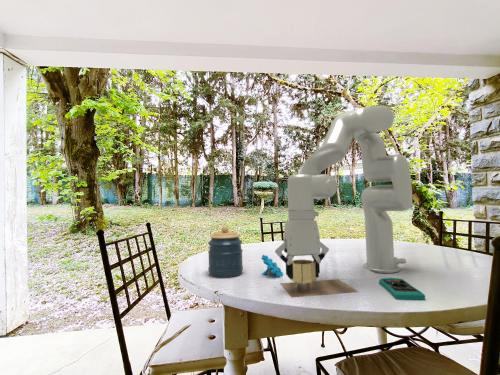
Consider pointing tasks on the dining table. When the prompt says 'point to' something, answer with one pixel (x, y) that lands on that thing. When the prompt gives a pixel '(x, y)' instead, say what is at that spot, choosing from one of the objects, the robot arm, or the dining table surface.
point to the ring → (304, 271)
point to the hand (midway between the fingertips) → (302, 276)
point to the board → (319, 288)
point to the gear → (271, 266)
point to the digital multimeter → (401, 289)
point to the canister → (225, 254)
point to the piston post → (303, 287)
